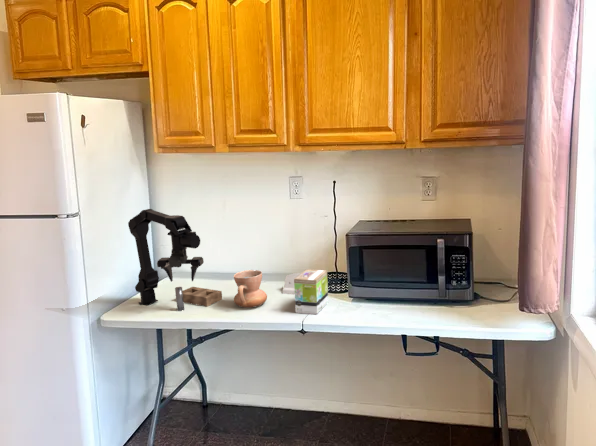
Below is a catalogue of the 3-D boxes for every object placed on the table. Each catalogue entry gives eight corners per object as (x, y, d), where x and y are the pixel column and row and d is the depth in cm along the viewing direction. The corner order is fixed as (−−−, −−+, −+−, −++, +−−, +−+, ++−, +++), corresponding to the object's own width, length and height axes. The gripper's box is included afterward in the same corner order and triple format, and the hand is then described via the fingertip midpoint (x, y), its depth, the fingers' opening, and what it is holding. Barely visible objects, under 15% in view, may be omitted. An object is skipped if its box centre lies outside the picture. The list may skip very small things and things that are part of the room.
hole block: (178, 301, 249) (177, 292, 248) (193, 294, 257) (192, 286, 256) (207, 306, 239) (206, 297, 238) (222, 299, 247) (221, 291, 246)
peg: (176, 310, 236) (173, 288, 234) (181, 308, 239) (178, 286, 237) (180, 311, 235) (178, 289, 233) (185, 309, 237) (183, 287, 235)
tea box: (318, 314, 219) (316, 279, 217) (295, 313, 223) (292, 278, 220) (329, 302, 233) (327, 269, 230) (307, 301, 237) (304, 268, 234)
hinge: (281, 293, 250) (283, 271, 251) (286, 293, 254) (287, 272, 255) (315, 296, 243) (316, 273, 244) (319, 296, 247) (320, 274, 248)
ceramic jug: (245, 297, 248) (242, 267, 245) (274, 299, 242) (271, 268, 239) (225, 311, 231) (221, 279, 229) (255, 313, 226) (252, 281, 223)
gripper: (150, 251, 223) (154, 287, 226) (195, 250, 221) (198, 286, 225) (160, 244, 234) (163, 279, 237) (202, 243, 232) (205, 278, 235)
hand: (182, 281), depth 233 cm, fingers open, 9 cm apart
